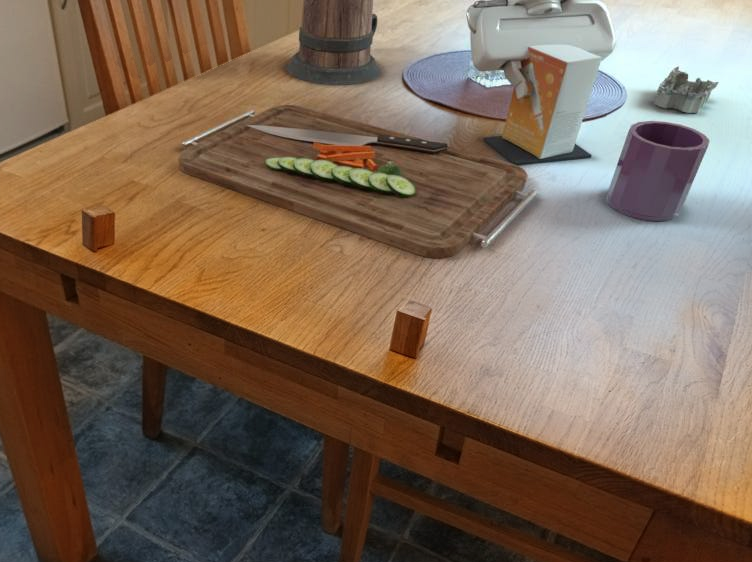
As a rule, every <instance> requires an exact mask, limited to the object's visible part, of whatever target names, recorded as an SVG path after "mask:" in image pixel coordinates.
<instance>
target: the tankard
mask: <svg viewBox="0 0 752 562" xmlns="http://www.w3.org/2000/svg"><path fill="white" fill-rule="evenodd" d="M373 10H374V0H303V2H302V13H301V14H302V15H301V17H302V18H301V25H300V27H299V31H298V42H299V47H298V49H299V50H298V51H296V52H295V54H294V55H293V56H292V59H291V60H290V61H289V62H288V63H287V65H286V71H287V72H288V73H289V75H290V76H293V77H295V78H297V79H299V80H303V81H305V82H311V83H316V84H321V85H337V86H339V85H340V86H342V85H357V84H362V83H367V82H370V81H373V80H374V79H377V78H378V77H379V76H380V75H381V68H380V67H379V66H378V65H377V63H376V59H375V57H374V56H373V55H372V54H371V48H372V44H373V38H374V36H375V34H376V31H377V28H378V19H379V18H378V15H377V14H376V13H374V11H373Z"/></svg>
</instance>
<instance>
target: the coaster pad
mask: <svg viewBox="0 0 752 562" xmlns="http://www.w3.org/2000/svg"><path fill="white" fill-rule="evenodd" d="M483 141H484V142H485V143H486V144H488V145H489V146H490V147H491V148H492V149H494V150H495V151H496V152H498V154H500V155H501V156H502V157H504V159H506V160H507V161H509V163H511V164H514V165H517V166H521V165H522V166H523V165H531V164H541V163H551V162H561V161H572V160H583V159H591V158H592V156H593V155H592V154H591V153H589V152H588V151H586V149H585V148H582V147H581V146H579V145H578V144H576V143H575V145H574V149H573V151H572V152H570V153H566V154H561V155H556V156H551V157H547V158H542V159H539V158H537V157H536V156H535V155H533V154H531V153H529V152H528V151H526V150H524V149H522V148H521V147H519V146H517V145H515V144H513V143H512V142H510V141H508V140H506V139H504V138H502V135H496V136H495V135H494V136H484V137H483Z"/></svg>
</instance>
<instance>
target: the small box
mask: <svg viewBox="0 0 752 562" xmlns="http://www.w3.org/2000/svg"><path fill="white" fill-rule="evenodd" d="M528 49H529V53H530V57H529V58H528V59H523V60H522V61H521V66H522V68H521V69H520V70H519V71H520V72H521V74H522V75H523V77H524V78H525V80H526V81H532V88H533V90H534V91H533V95H531V96H530V97H529V98H524V99H518V98H517V95H516V90H515V88H514V87H513V91H512V95H511V98H510V103H509V105H508V106H509V107H508V111H507V115H506V119H505V123H504V126H503V131H502V135H501V136H502V138H504V139H506V140H508V141H510V142H512V143H513V144H515V145H517V146H519V147H521V148H522V149H524V150H526V151H528V152H529V153H531V154H533V155H535V156H536V157H537V158H539V159H542V158H547V157H551V156H556V155H561V154H566V153H570V152H572V151H573V149H574V145H575V144H576V142H577V139H578V135H579V133H580V129H581V126H582V123H583V120H584V117H585V113H586V109H587V106H588V103H589V101H590V98H591V95H592V91H593V87H594V85H595V81H596V78H597V75H598V73H599V72H598V71H599V68H600V66H601V62H602V61H601V59H602V57H600V56H597V55H594V54H592V53H589V52H587V51H585V50H582V49H580V48H577V47H574V46H570V45H537V46H529V47H528Z"/></svg>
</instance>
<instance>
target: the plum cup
mask: <svg viewBox="0 0 752 562" xmlns="http://www.w3.org/2000/svg"><path fill="white" fill-rule="evenodd" d="M709 144H710V139H709V138H708V136H706V134H704V133H703V132H701V131H699V130H697V129H695V128H692V127H688V126H687V125H684V124H679V123H674V122H669V121H660V120H645V121H638V122H635V123H633V124H631V125H630V127H629V129H628V131H627V135H626V137H625V141H624V143H623V146H622V149H621V151H620V154H619V158H618V161H617V163H616V165H615V170H614V172H613V175H612V179H611V182H610V184H609V187H608V191H607V193H606V197H605V199H606V203H607V204H608V206H610V207H611V208H612V210H615V211H617V212H619V213H621V214H622V215H625V216H628V217H630V218H634V219H638V220H643V221H649V222H665V221H671V220H673V219H675V218H677V217H678V216H680V213H681V211H682V209H683V207H684V205H685V202H686V200H687V197H688V196H689V192H690V190H691V188H692V186H693V183H694V181H695V179H696V176H697V174H698V172H699V169H700V166H701V165H702V162H703V159H704V157H705V155H706V152H707V150H708V147H709Z"/></svg>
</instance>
